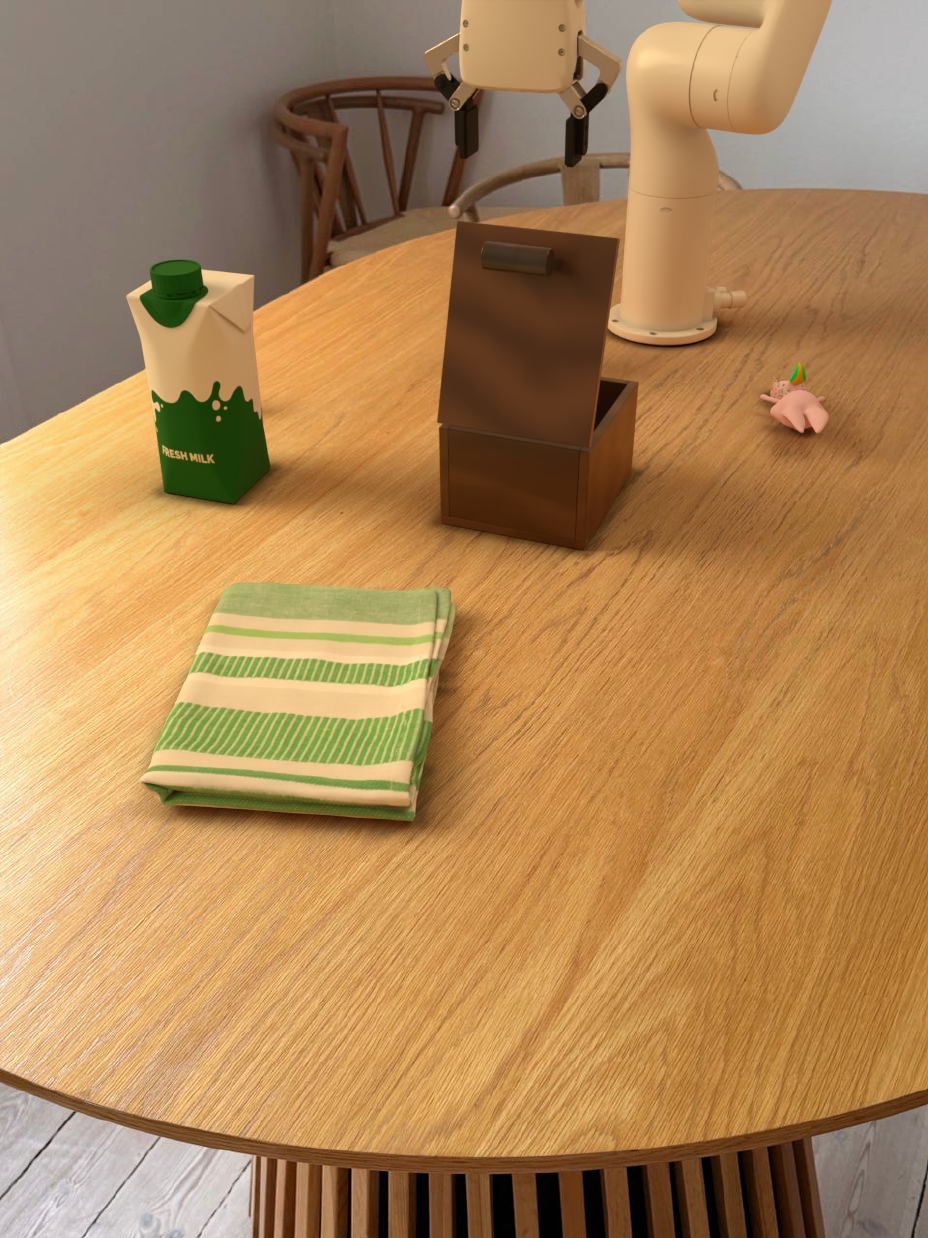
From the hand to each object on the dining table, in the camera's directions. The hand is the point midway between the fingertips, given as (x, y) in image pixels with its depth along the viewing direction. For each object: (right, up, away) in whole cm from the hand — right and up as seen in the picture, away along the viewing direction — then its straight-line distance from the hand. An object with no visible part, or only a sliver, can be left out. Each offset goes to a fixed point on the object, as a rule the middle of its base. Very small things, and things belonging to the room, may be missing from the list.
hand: (520, 159), depth 107 cm
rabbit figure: (+27, -22, +11) cm, 36 cm away
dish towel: (-15, -46, -24) cm, 54 cm away
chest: (+2, -30, -1) cm, 30 cm away
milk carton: (-27, -28, +2) cm, 39 cm away
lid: (0, -19, -14) cm, 23 cm away
